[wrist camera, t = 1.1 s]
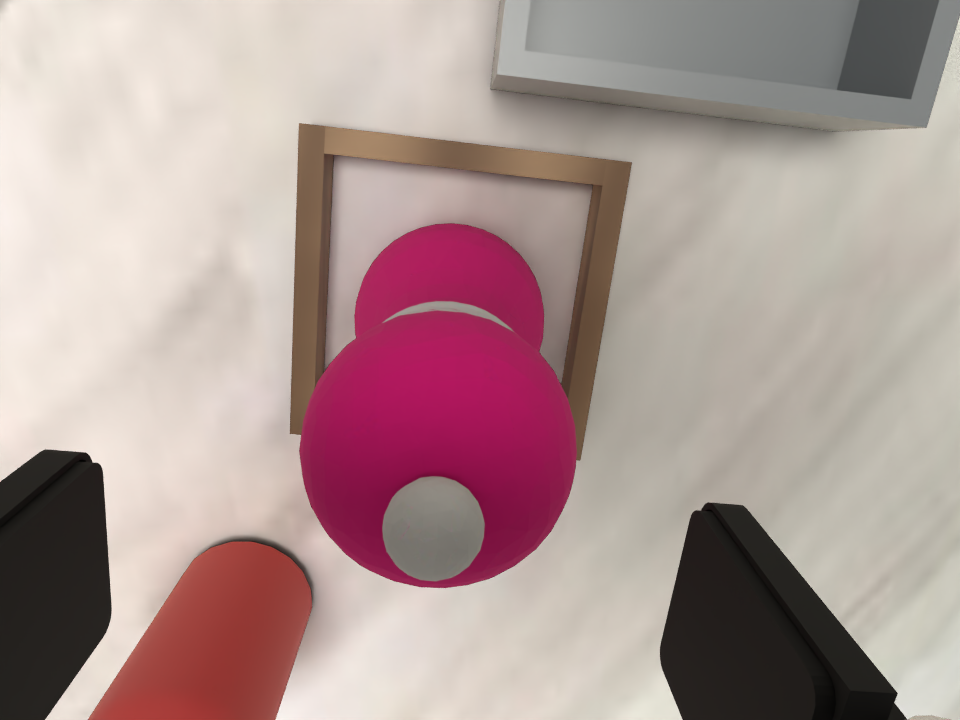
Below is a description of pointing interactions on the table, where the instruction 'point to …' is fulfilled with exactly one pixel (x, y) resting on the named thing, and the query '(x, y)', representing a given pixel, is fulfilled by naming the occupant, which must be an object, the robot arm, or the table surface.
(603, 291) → the brown wooden picture frame
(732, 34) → the bin
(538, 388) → the pepper mill
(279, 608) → the beer can
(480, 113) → the table surface
